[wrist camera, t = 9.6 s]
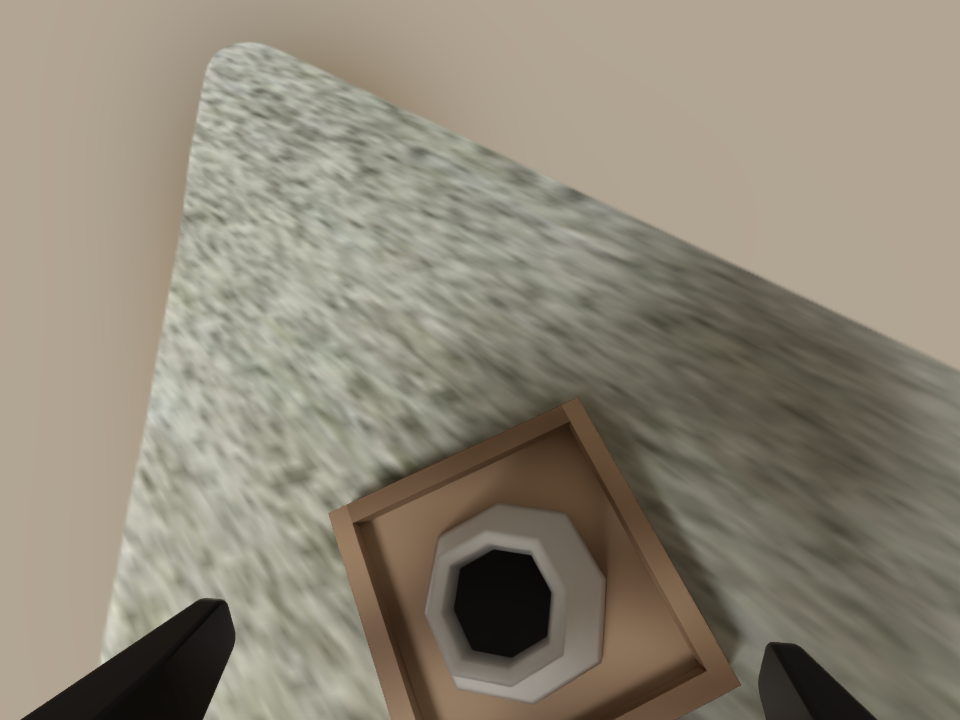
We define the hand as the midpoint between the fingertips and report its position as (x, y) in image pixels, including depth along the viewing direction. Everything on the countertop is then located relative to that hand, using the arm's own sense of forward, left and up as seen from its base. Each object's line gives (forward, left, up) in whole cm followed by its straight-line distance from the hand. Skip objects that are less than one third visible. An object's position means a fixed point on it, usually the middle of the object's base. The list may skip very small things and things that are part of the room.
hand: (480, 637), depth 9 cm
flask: (0, 0, -13) cm, 13 cm away
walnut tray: (+1, 0, -14) cm, 14 cm away
